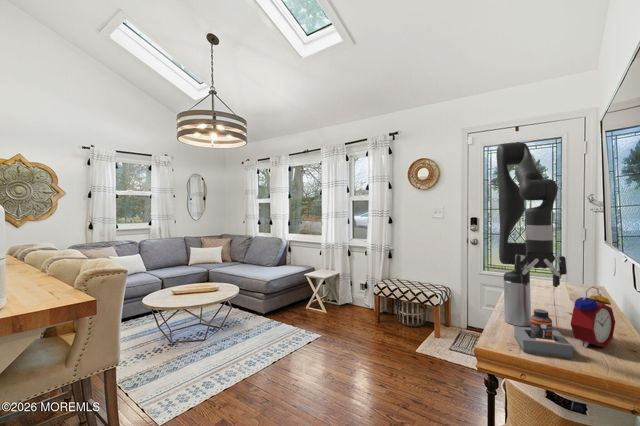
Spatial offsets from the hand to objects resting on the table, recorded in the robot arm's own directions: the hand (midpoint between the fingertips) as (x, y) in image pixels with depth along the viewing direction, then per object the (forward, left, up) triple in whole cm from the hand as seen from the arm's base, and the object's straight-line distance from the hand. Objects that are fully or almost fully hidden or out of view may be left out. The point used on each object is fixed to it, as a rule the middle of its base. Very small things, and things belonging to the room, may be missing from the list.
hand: (539, 285), depth 102 cm
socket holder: (0, 0, -21) cm, 21 cm away
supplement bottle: (0, 0, -20) cm, 20 cm away
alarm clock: (-9, +16, -21) cm, 28 cm away
